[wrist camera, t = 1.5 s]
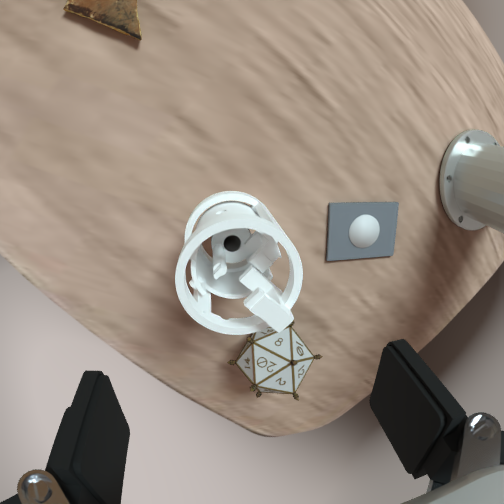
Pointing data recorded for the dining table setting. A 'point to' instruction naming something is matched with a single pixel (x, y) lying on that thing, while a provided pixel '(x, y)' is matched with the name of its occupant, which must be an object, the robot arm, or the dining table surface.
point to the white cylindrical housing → (237, 264)
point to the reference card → (361, 230)
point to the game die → (275, 361)
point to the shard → (109, 14)
